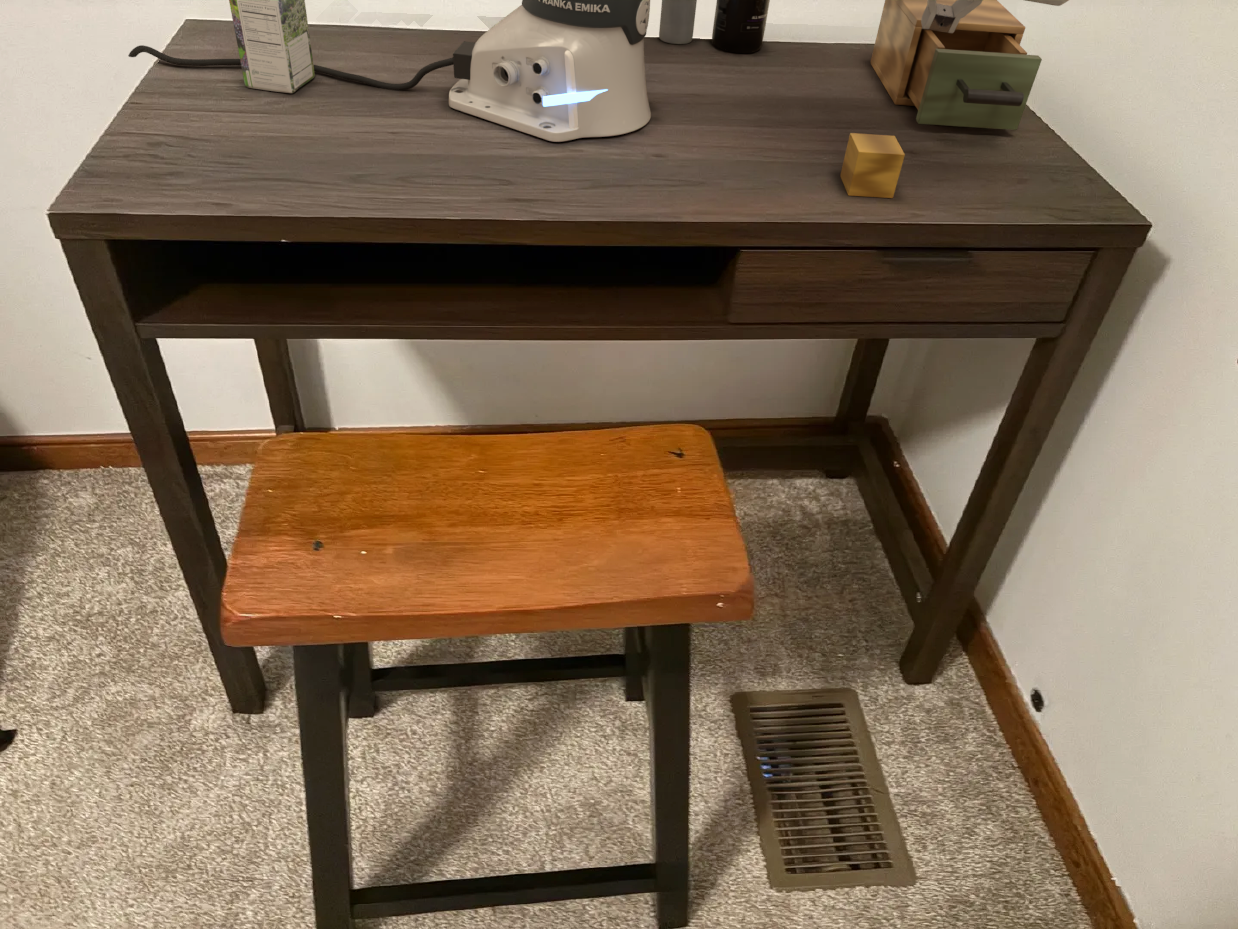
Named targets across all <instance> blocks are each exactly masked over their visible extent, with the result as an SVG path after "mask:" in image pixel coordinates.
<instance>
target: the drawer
mask: <svg viewBox="0 0 1238 929" xmlns="http://www.w3.org/2000/svg"><path fill="white" fill-rule="evenodd" d="M1041 63H1042V57H1041V56H1040V55H1036V54H1028V52H1027V51H1026V50H1025V49H1024V48H1023V47H1022V46H1021V44H1020V45H1019V44H1018V43H1017V42H1016V41H1015V40H1014V39H1013V38H1012V37H1011V36H1010V35H1009V34H1008V33H996V32H982V31H967V30H955V31H954V33H946V32H940V31H934V30H928V29H923V28H922V29H921V33H920V37H919V40H918V44H917V48H916V52H915V55H914V59H913V63H912V67H911V70H910V74H909V78H908V82H907V85H906V89H905V91H906V92H907V94H908V95H909V97H910V98H911V100H912V102H913V103H914V105H915V106H914V107H915V108H916V109H917V114H916V118H915V120H916V122H917V124H918V125H930V126H931V125H932V126H935V125H936V126H948V127H963V128H978V129H995V130H1009V131H1018V128H1019V125H1020V123H1021V119H1022V117H1023V113H1024V111H1025V108H1026V105H1027V102H1028V100H1029V97H1030V95H1031V91H1032V89H1033V86H1034V82H1035V80H1036V77H1037V74H1038V72H1039V69H1040V66H1041Z"/></svg>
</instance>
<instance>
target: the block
mask: <svg viewBox="0 0 1238 929" xmlns="http://www.w3.org/2000/svg"><path fill="white" fill-rule="evenodd" d="M905 156H906V153H905V151H904V150H903V149H902V147H901V144H900V143H899V141H898V140H897V138H896V136H895V135H889V134H888V135H887V134H871V133H855V132H850V133H849V136H848V141H847V145H846V149H845V154H844V158H843V161H842V166H841V171H840V174H839V176H840V180H841V182H842V184H843V186H844V190H845V191H846V194H847V196H851V197H865V198H866V197H868V198H882V199H883V198H885V199H893V198H894V195H895V192H896V189H897V184H898V182H899V177H900V175H901V172H902V171H901V170H902V167H903V163H904V160H905Z"/></svg>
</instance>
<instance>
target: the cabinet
mask: <svg viewBox="0 0 1238 929" xmlns="http://www.w3.org/2000/svg"><path fill="white" fill-rule="evenodd" d="M956 1H957V0H936V3H938V4H943V5H950V6H952V5H953V4H954V3H955V2H956ZM927 4H928V3H927V0H884V4H883V8H882V12H881V17H880V21H879V24H878V29H877V32H876V36H875V42H874V46H873V50H872V53H871V54H872V55H871V59H870V66H871V67H872V68H873V70H874V72H875V74H876V75H877V77H878V79H879V80H880V82H881V84H882V86H883V87H884V89H885V90H886V92H887V94H888V95H889V97H890V99H891V100H892V102H893V104H894V105H896V106H912V107H916V106H915V105H914V103H913V102H912V100H911V98H910V97H909V95H908V94H907V92H906V91H905V89H906V85H907V82H908V78H909V74H910V70H911V67H912V63H913V59H914V55H915V52H916V48H917V44H918V40H919V37H920V33H921V29H922V24H921V19H922V15H923V13H924V11H925V8H926V6H927ZM955 30H967V31H982V32H996V33H1008V34H1009V35H1010V36H1011V37H1012V38H1013V39H1014V40H1015V41H1016V42H1017V43H1018V44H1019V45H1020V46H1021V42H1022V39H1023V37H1024V33H1025V30H1026V26H1025V25H1024V24H1023V23H1022V22H1021V21H1019V19H1017V17H1016V16H1014V15H1013V13H1012V12H1010V11H1009V10H1008V9H1007V8H1006V7H1005V6H1004V5H1003V4H1002V3H1001V2H1000V1H999V0H983V1H982V3H981V4H980V5H979V6H977V7H976V8H975V9H974V10H972V11H971V12H970V13H968V14H967V15H966V16H964V17H963V18H961V19H960V21H959V23H958V25H957V27H956V29H955Z"/></svg>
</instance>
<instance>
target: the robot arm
mask: <svg viewBox="0 0 1238 929" xmlns="http://www.w3.org/2000/svg"><path fill="white" fill-rule="evenodd" d="M982 1H983V0H957V1H956V2H955V3H954V4H953V5H952V6H950V5H943V4H938V3H936V0H927V3H928V4H927V6H926V8H925V11H924V13H923V15H922V19H921V24H922V28H923V29H928V30H934V31H940V32H946V33H954V31H955V29H956V27H957V25H958V23H959V21H960V19H961V18H963V17H964V16H966V15H967V14H968V13H970V12H971V11H972V10H974V9H975V8H976V7H977V6H979V5H980V4H981V3H982ZM1024 1H1026V2H1031V3H1037V4H1043V5H1049V6H1053V7H1054V6H1055V7H1061V6H1063V5H1064V4H1066V3H1067V2H1069V1H1070V0H1024ZM650 11H651V0H521V5H519V6H517V8H515V9H514V10H512V11H511V12H510V13H508V14H507V15H506V16H505V17H503V18H502V19H500V20H499V21H498V22H497V23H496V24H494V25H493V26H492V27H490V28H489V29H488V30H486V31H485V32H484V33H483V34H482V35H481V36H480V37H479V38H478V39H477V40H476V42H473V41H466V40H464V41H462V43H460V45H459V46H458V47H457V48H456V50H454V51H453V53H452V57H449V58H446V59H440V60H437V61H434V62H432V63H429V64H428V65H425V66H424V67H422V68H420V69H419V70H418V71H417V73H416V74H415V75H414V77H413V78H412V79H411V80H408V81H407V82H403V83H389V82H384V81H380V80H378V79H377V80H376V79H373V78H370V77H367V76H363V75H359V74H354V73H351V72H345V71H341V70H337V69H334V68H330V67H325V66H322V65H318V64H313V65H314V73H315V72H316V73H320V74H324V75H328V76H331V77H334V78H339V79H343V80H348V81H352V82H358V83H360V84H363V85H364V84H365V85H367V86H371V87H375V88H378V89H384V90H392V91H406V90H410V89H413V88H415V87H416V86H418V84H419V83H420V82H421V81H422V79H423V78H424V77H425V76H426V75H428V74H429V73H431V72H433V71H436V70H439V69H442V68H446V67H450V66H453V78H454V79H458V81H457V82H456V83H454V85H453V86H451V88H450V90H449V92H448V107H449V108H451V109H454V110H456V111H460V112H462V113H465V114H468V115H471V116H474V117H478V118H480V119H484V120H486V121H489V122H492V123H495V124H498V125H501V126H504V127H507V128H509V129H513V130H515V131H518V132H522V133H524V134H528V135H531V136H534V137H536V138H540V139H543V140H545V141H547V142H548V141H549V142H554V143H561V142H569V141H572V140H576V139H577V140H578V139H582V138H602V137H614V136H620V135H624V134H628V133H631V132H635V131H637V130H639V129H641V128H643V127H644V126H646V125H647V124H648V123H649V122H650V120H651V118H652V112H651V108H650V103H649V97H648V89H647V82H646V80H647V79H646V69H645V67H646V66H645V38H646V36H647V32H648V31H647V30H648V27H649V21H650V13H651V12H650ZM141 53H146V54H149V55H151V56H152V57H155V58H157V59H159V60H161V61H163V62H165V63H168V64H172V65H176V66H186V67H187V66H188V67H217V66H220V67H221V66H241V61H240V58H205V59H203V58H202V59H201V58H199V59H198V58H197V59H196V58H195V59H194V58H178V57H175V56H174V57H173V56H170V55H168V54H165V53H163V52H161V51H159V50H157V49H155V48H153V47H151V46H148V45H144V44H143V45H136V47H134V48H133V49H131V50H130V52H129V53H128V57H129V58H136V57H138V55H139V54H141Z"/></svg>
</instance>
